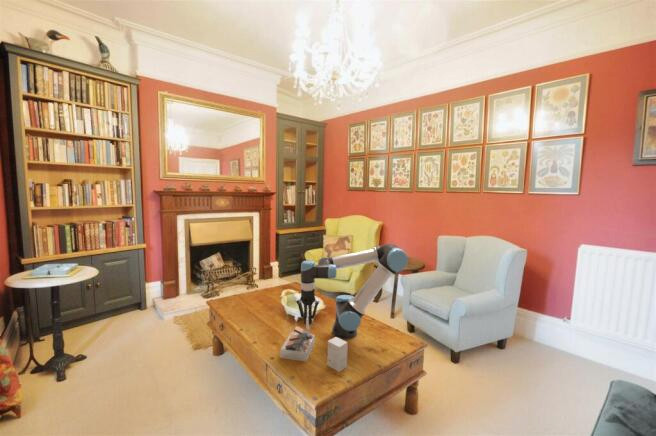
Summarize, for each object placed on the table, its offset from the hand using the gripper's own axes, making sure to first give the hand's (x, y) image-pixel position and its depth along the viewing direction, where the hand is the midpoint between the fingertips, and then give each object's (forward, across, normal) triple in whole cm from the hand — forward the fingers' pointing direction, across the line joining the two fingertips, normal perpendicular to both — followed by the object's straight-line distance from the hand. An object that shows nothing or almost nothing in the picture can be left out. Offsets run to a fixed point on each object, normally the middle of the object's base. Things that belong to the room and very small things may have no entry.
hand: (307, 329), depth 164 cm
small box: (+10, -19, +15) cm, 26 cm away
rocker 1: (+3, +4, 0) cm, 5 cm away
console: (+9, +4, +6) cm, 12 cm away
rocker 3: (+3, +4, +12) cm, 13 cm away
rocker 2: (+3, +4, +6) cm, 8 cm away
